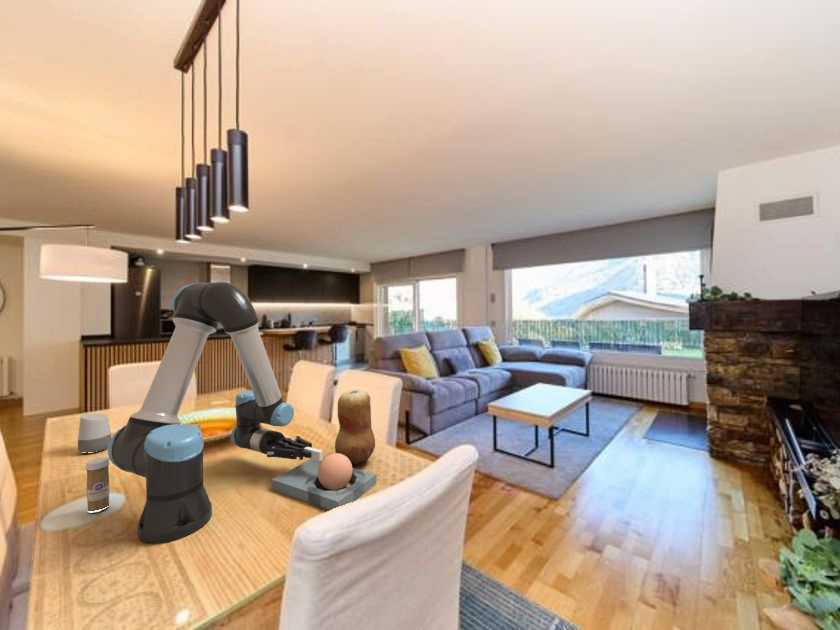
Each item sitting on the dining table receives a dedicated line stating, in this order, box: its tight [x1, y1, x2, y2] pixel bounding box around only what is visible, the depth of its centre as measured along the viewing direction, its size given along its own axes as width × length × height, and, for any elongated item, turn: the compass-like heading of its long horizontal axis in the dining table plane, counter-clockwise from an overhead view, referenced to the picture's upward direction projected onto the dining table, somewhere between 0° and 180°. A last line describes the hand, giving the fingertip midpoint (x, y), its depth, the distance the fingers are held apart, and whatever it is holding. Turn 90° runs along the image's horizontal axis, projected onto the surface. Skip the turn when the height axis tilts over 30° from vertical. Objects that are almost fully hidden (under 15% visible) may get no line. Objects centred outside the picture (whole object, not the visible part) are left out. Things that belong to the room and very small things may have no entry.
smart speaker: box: [77, 413, 112, 453], centre depth 132 cm, size 10×9×14 cm
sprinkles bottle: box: [85, 456, 110, 511], centre depth 93 cm, size 5×5×14 cm
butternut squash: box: [334, 388, 376, 466], centre depth 121 cm, size 14×13×25 cm
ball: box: [318, 452, 353, 491], centre depth 104 cm, size 10×10×10 cm
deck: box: [271, 459, 378, 511], centre depth 105 cm, size 26×17×3 cm, turn 62°
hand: (321, 455), depth 105 cm, fingers closed
